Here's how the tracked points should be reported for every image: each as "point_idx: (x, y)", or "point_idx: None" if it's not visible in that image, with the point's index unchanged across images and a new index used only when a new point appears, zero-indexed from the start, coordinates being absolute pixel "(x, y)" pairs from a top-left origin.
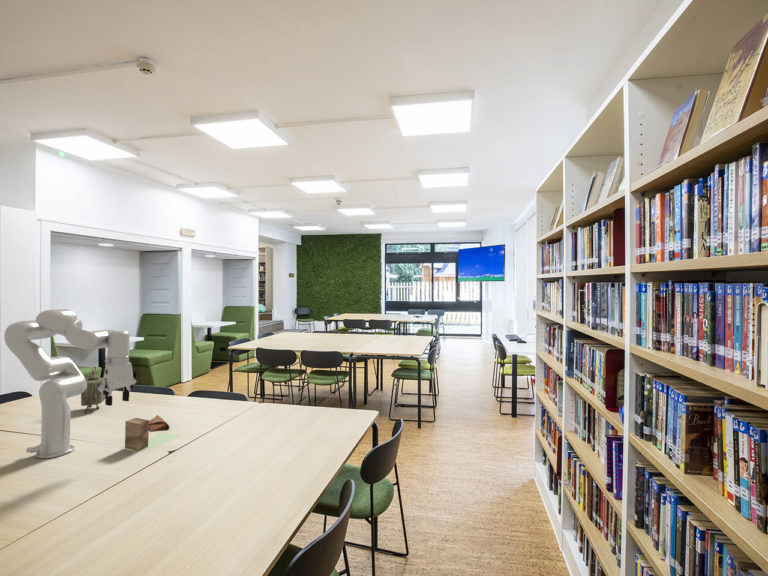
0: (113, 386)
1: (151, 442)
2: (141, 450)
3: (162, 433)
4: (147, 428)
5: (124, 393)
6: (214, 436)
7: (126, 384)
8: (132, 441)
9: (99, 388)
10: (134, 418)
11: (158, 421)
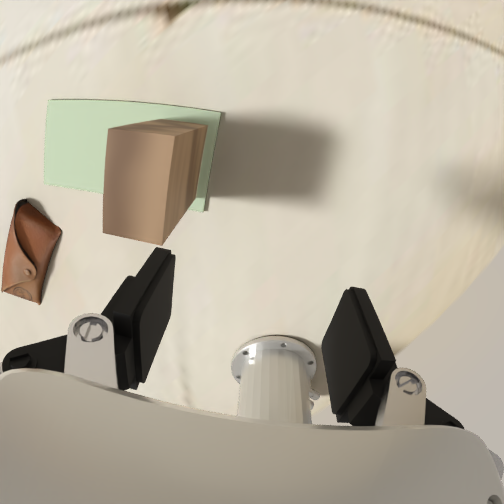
0: (467, 464)
1: None
2: (196, 117)
3: (52, 183)
4: (134, 125)
5: (148, 348)
6: (35, 5)
7: (146, 441)
8: (194, 161)
9: (502, 470)
10: (114, 233)
11: (18, 250)
